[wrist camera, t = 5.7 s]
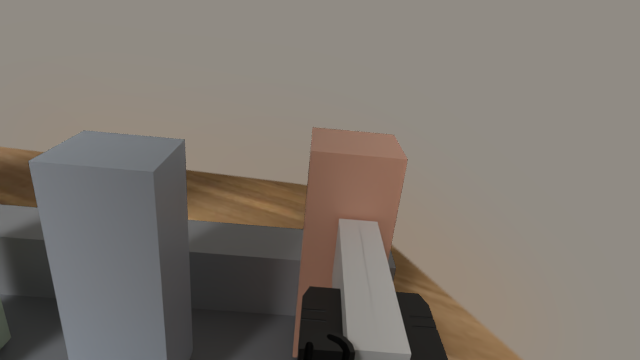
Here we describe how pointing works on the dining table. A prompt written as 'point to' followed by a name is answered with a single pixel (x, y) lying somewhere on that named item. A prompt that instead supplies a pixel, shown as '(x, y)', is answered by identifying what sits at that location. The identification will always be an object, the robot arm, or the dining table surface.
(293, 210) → the dining table surface
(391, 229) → the salmon pink block
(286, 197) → the dining table surface
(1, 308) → the green rectangular block
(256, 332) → the dark grey block holder
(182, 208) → the blue-grey upright block
